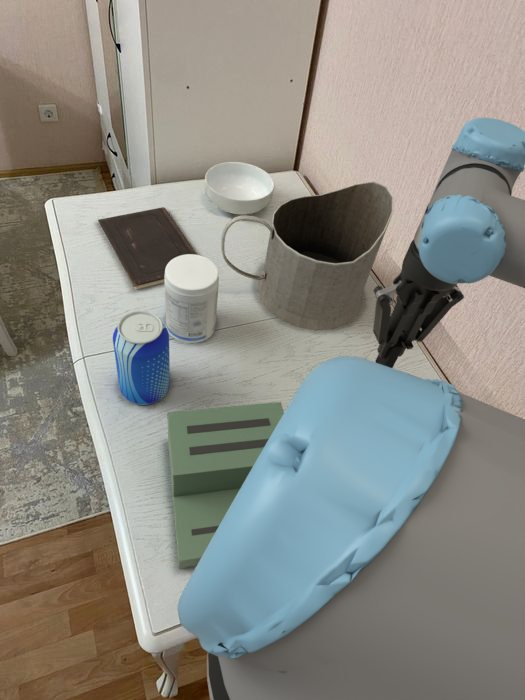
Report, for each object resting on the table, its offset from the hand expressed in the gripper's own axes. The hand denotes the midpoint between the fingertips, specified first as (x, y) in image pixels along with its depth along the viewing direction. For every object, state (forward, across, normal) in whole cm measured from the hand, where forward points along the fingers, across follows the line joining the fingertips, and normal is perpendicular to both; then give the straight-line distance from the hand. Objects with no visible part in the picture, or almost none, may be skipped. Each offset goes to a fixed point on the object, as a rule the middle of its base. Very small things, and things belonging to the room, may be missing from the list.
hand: (382, 367), depth 80 cm
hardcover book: (+13, +34, -46) cm, 59 cm away
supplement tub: (+13, +28, -22) cm, 38 cm away
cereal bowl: (+12, +12, -64) cm, 66 cm away
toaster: (+13, +26, +13) cm, 31 cm away
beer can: (+13, +37, -9) cm, 40 cm away
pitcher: (+13, +6, -30) cm, 34 cm away
